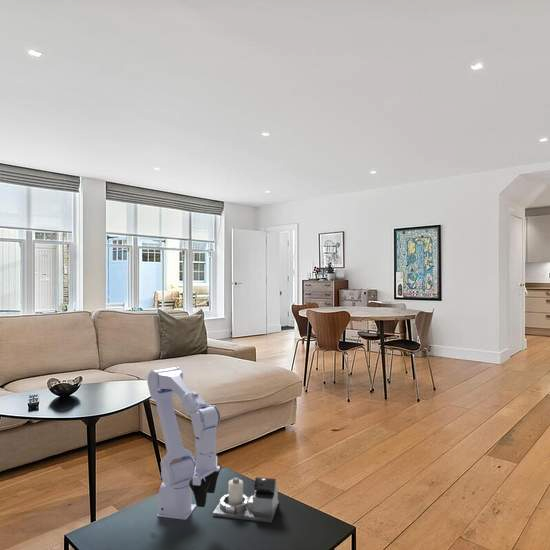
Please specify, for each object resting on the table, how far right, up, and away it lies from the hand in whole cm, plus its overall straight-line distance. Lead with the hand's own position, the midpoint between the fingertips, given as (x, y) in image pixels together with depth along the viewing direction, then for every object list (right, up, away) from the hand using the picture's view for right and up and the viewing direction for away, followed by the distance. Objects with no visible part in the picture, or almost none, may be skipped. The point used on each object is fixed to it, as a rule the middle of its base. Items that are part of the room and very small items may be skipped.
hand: (206, 499), depth 120 cm
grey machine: (+11, -10, +12) cm, 19 cm away
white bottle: (+7, -9, +13) cm, 17 cm away
